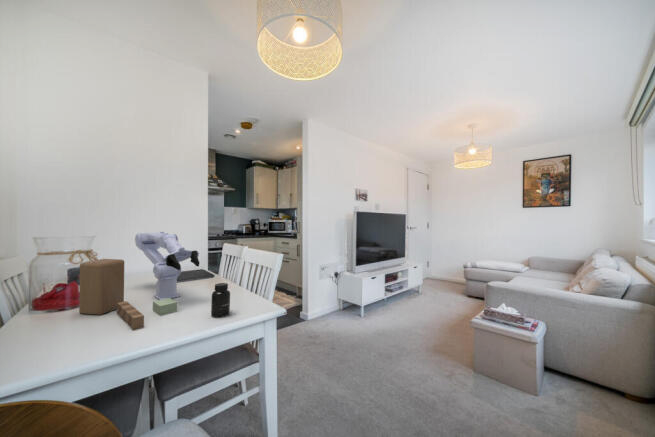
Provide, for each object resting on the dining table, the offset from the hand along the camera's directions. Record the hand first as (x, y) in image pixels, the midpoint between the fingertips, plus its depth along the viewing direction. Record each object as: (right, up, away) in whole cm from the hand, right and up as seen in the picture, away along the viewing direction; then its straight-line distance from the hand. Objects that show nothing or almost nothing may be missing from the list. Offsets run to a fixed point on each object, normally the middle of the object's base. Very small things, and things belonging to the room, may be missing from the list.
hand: (189, 266), depth 105 cm
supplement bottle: (+16, -18, -7) cm, 25 cm away
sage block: (-7, -18, -5) cm, 20 cm away
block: (-32, -17, -5) cm, 37 cm away
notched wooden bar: (-15, -17, -14) cm, 26 cm away
